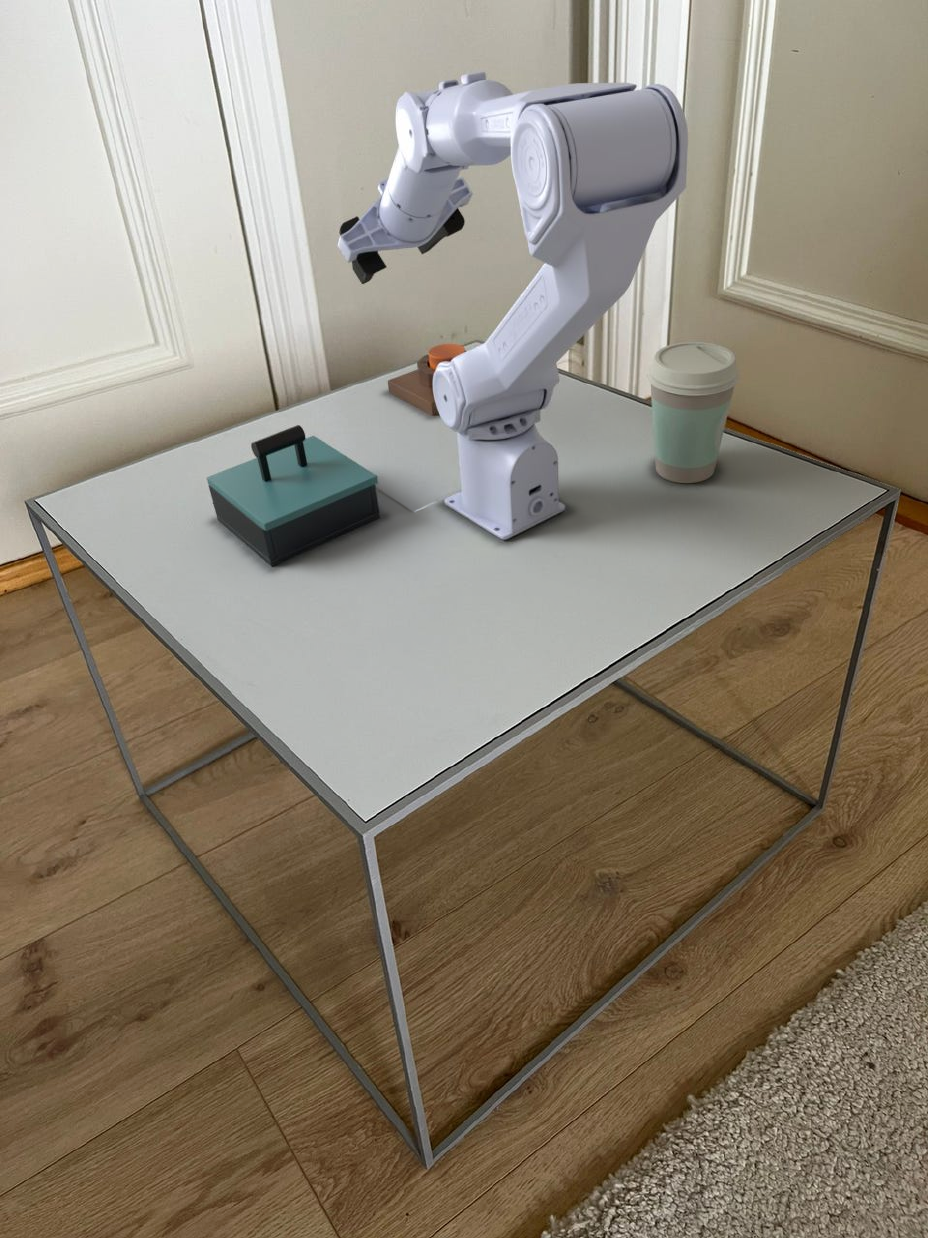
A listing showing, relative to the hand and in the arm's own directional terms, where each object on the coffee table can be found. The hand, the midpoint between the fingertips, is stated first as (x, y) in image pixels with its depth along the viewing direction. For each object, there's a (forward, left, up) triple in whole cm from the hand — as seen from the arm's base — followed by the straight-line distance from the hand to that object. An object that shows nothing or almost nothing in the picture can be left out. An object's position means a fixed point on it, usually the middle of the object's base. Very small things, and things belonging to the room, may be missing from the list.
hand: (390, 259), depth 100 cm
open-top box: (-12, +22, -18) cm, 30 cm away
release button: (+1, -7, -14) cm, 16 cm away
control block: (+1, -7, -18) cm, 19 cm away
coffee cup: (-32, -12, -18) cm, 38 cm away
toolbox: (-12, +22, -13) cm, 28 cm away
